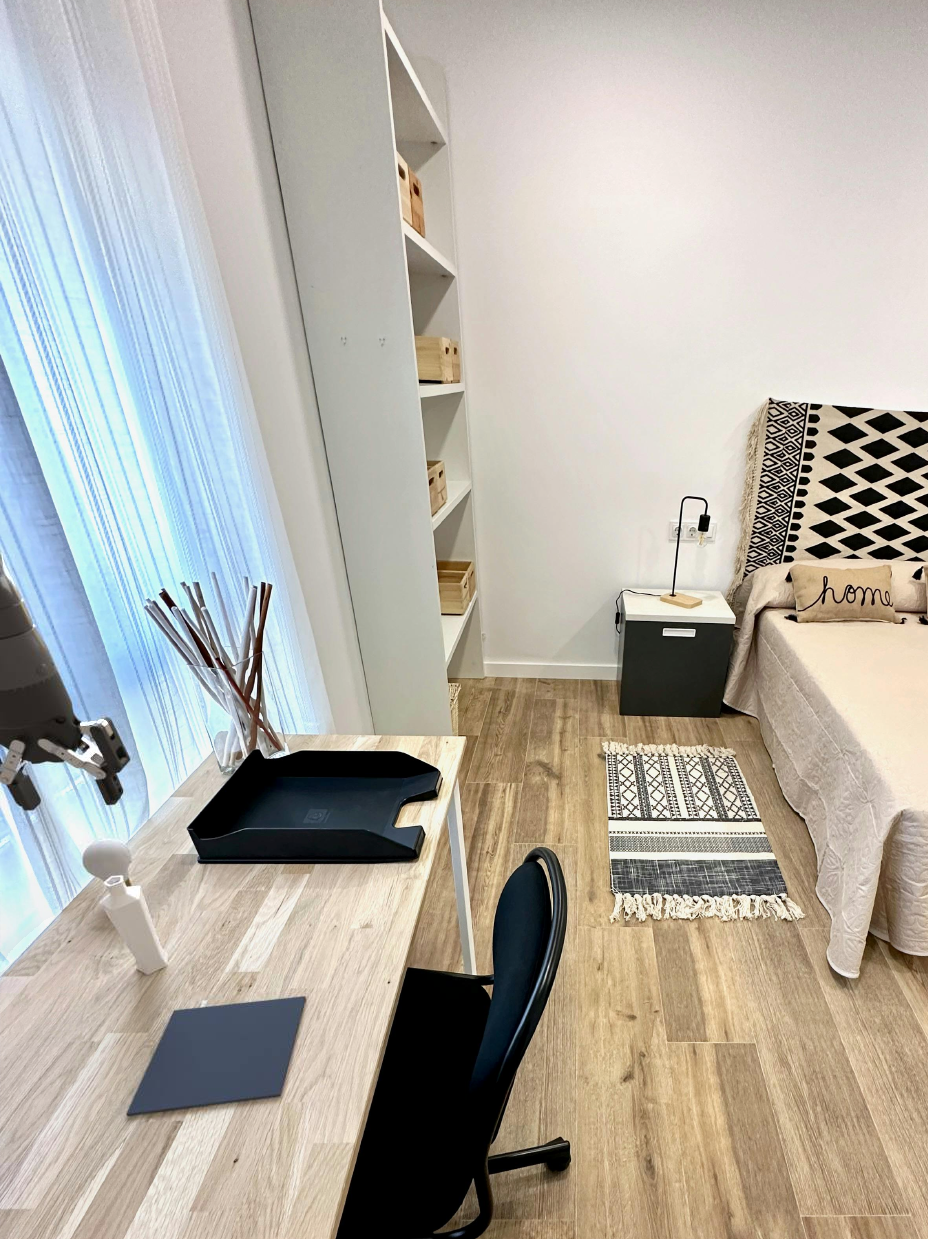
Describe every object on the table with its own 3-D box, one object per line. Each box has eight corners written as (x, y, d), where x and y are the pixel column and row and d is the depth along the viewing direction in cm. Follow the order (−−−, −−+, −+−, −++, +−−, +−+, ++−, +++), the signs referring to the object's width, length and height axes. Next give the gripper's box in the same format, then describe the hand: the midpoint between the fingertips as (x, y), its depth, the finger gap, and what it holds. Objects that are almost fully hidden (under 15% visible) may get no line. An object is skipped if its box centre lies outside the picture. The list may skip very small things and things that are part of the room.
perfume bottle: (134, 958, 91) (93, 875, 83) (170, 947, 93) (133, 865, 85) (132, 981, 87) (88, 897, 79) (169, 970, 89) (131, 886, 81)
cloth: (127, 1116, 72) (125, 1114, 72) (174, 1012, 83) (173, 1010, 83) (280, 1096, 74) (279, 1094, 74) (306, 998, 86) (305, 995, 86)
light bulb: (92, 901, 100) (65, 849, 95) (126, 877, 105) (103, 827, 100) (121, 910, 99) (95, 858, 93) (154, 886, 103) (132, 835, 98)
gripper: (103, 658, 71) (153, 783, 80) (-44, 662, 69) (24, 791, 78) (69, 685, 65) (127, 818, 74) (-94, 691, 63) (-15, 827, 72)
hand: (74, 804), depth 76 cm, fingers open, 8 cm apart
